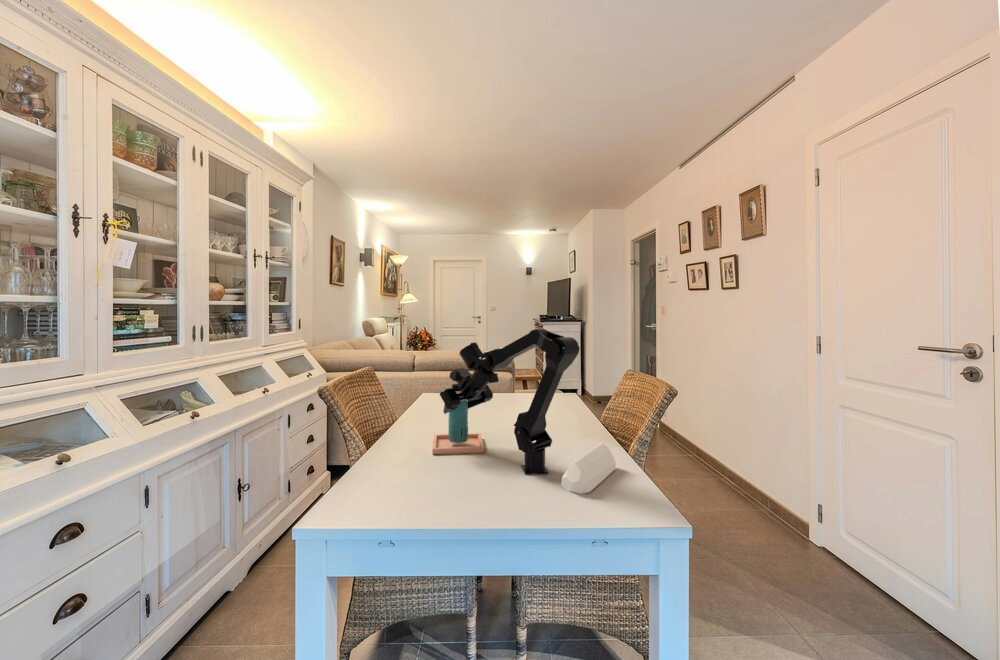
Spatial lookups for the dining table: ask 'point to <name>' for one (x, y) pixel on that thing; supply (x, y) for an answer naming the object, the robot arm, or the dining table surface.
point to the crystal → (589, 471)
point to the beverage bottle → (458, 421)
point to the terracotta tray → (457, 445)
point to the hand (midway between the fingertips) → (455, 410)
